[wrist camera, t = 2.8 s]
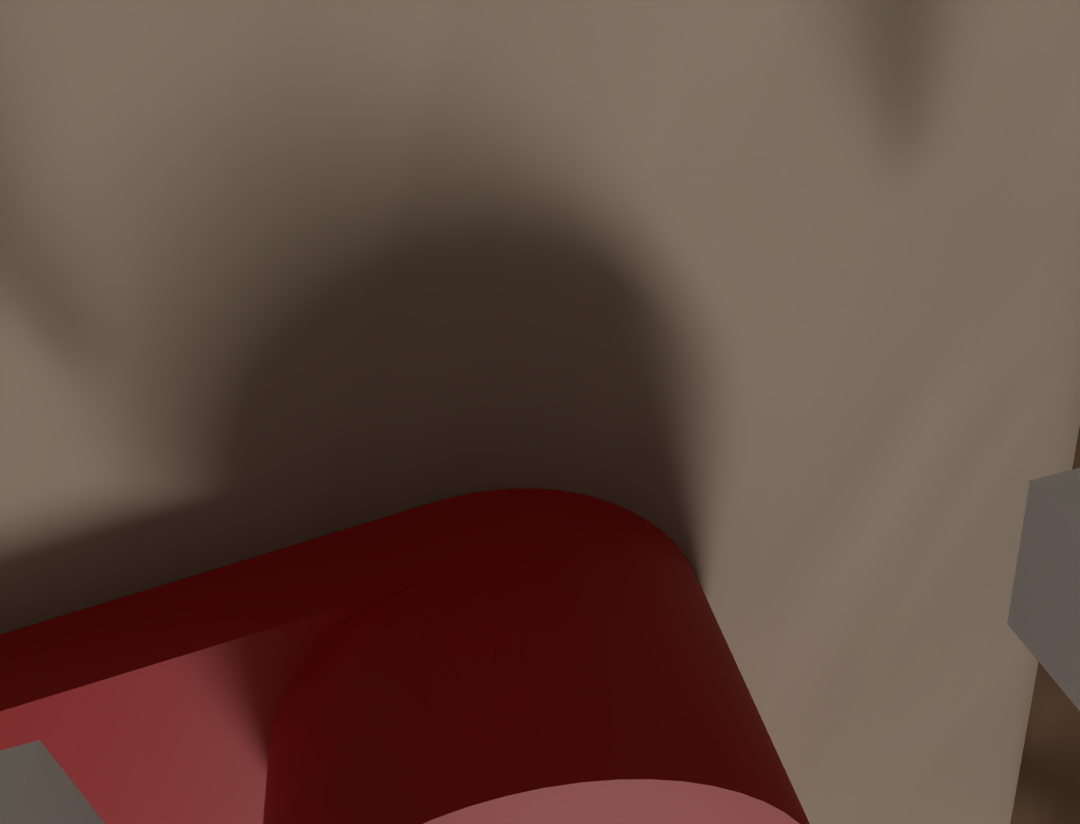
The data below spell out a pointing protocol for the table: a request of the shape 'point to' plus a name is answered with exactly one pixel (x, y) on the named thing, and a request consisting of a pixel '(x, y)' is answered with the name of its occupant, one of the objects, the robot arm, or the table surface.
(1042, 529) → the robot arm
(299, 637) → the lever
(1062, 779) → the walnut base brick
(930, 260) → the table surface
